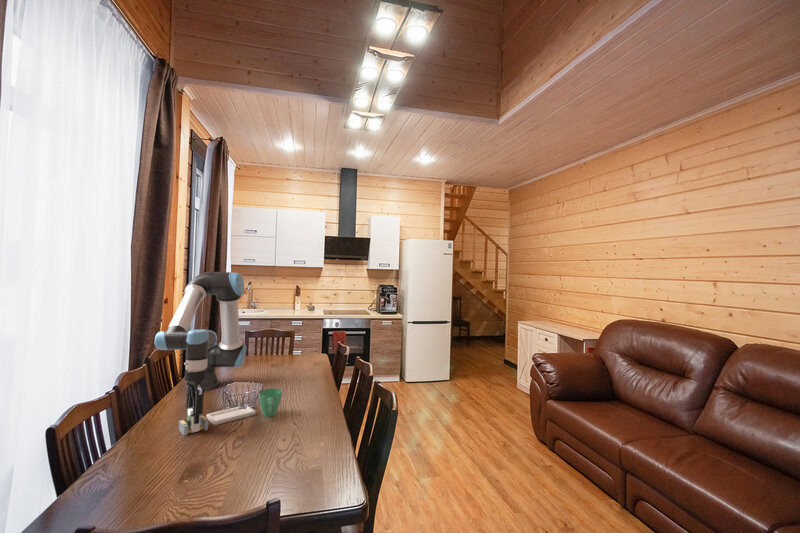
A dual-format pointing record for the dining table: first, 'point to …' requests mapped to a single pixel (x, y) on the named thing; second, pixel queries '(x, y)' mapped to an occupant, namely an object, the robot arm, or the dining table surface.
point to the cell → (189, 417)
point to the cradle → (184, 430)
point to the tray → (229, 415)
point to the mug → (270, 401)
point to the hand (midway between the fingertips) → (193, 429)
